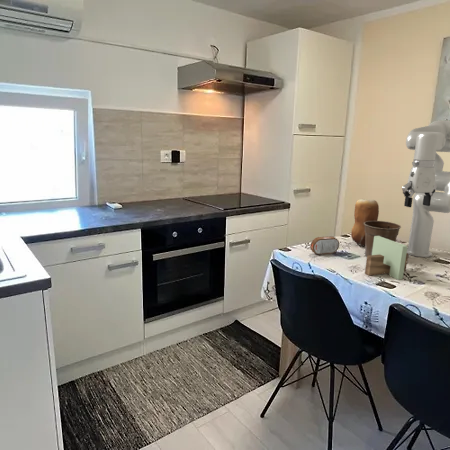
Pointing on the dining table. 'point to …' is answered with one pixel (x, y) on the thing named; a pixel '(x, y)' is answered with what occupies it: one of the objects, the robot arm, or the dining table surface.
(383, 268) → the walnut slotted plate
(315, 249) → the tin
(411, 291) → the dining table surface
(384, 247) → the green slotted plate
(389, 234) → the plant pot
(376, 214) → the butternut squash
